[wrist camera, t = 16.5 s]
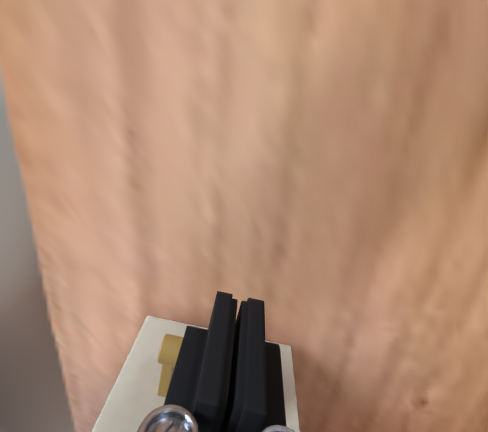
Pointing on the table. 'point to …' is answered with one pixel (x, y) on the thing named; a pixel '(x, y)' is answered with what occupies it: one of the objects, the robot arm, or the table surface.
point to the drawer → (165, 378)
